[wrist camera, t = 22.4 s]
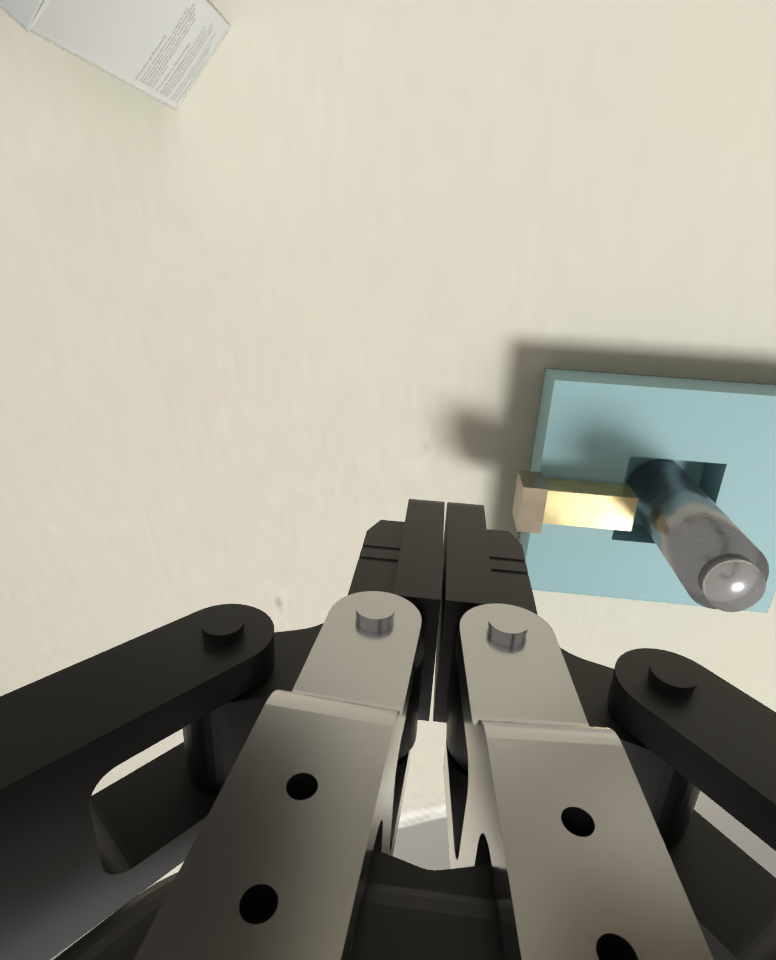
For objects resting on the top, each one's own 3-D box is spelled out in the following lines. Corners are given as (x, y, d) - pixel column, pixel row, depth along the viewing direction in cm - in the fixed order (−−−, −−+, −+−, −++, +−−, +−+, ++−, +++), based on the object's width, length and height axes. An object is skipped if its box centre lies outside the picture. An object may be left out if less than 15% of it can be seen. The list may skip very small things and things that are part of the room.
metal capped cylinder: (638, 453, 43) (714, 545, 31) (697, 467, 43) (796, 564, 31) (616, 505, 45) (679, 612, 33) (672, 519, 45) (756, 629, 33)
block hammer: (517, 469, 41) (523, 487, 38) (629, 479, 40) (643, 497, 37) (511, 511, 42) (516, 531, 39) (620, 521, 42) (633, 542, 39)
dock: (545, 368, 42) (554, 380, 39) (806, 387, 41) (841, 401, 37) (515, 562, 48) (521, 588, 45) (742, 584, 47) (767, 612, 43)
